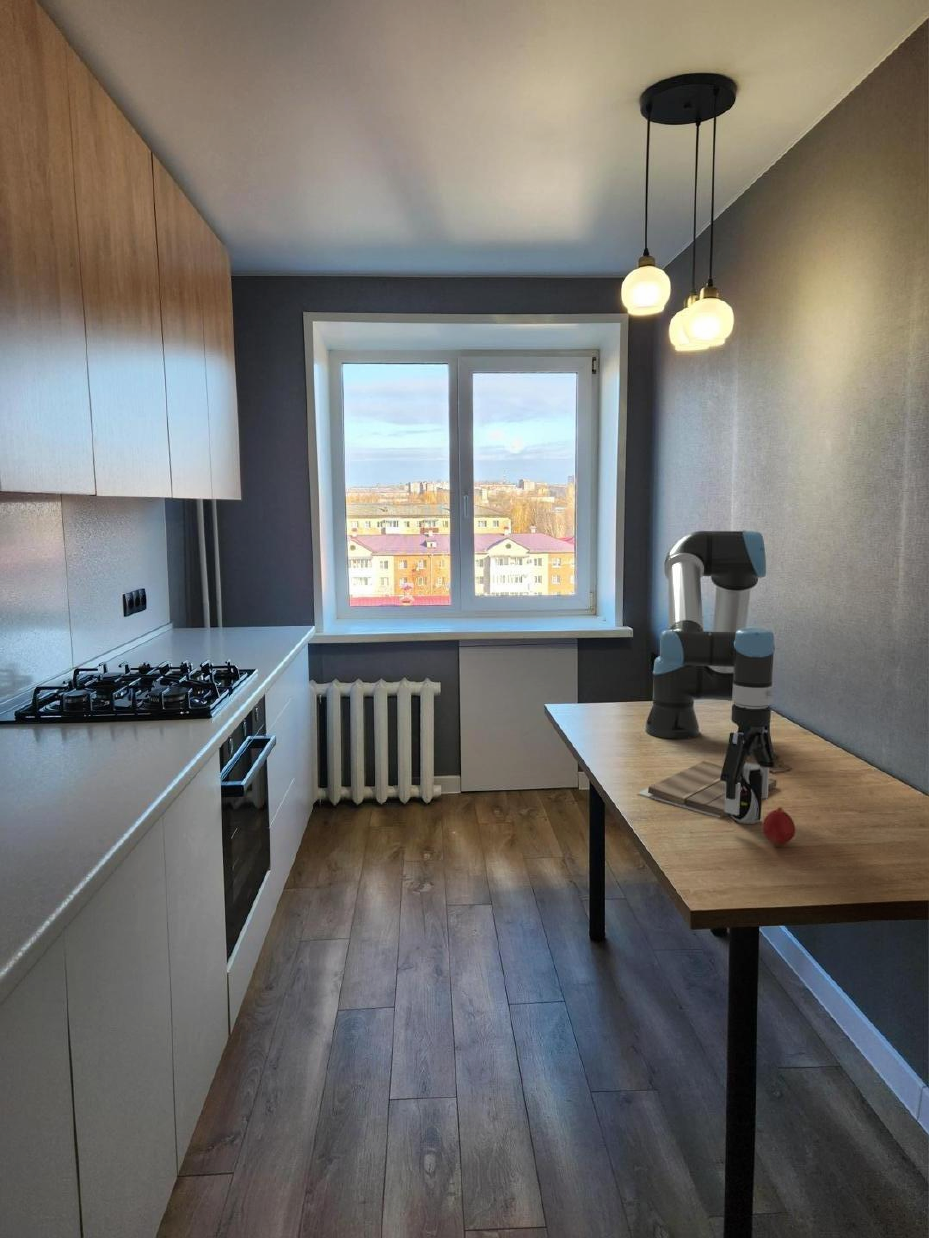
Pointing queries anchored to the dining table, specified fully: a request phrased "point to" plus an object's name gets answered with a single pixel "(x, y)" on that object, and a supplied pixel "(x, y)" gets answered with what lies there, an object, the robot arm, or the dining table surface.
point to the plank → (687, 782)
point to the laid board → (715, 798)
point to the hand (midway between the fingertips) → (746, 804)
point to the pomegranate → (778, 827)
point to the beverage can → (750, 794)
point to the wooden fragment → (778, 765)
